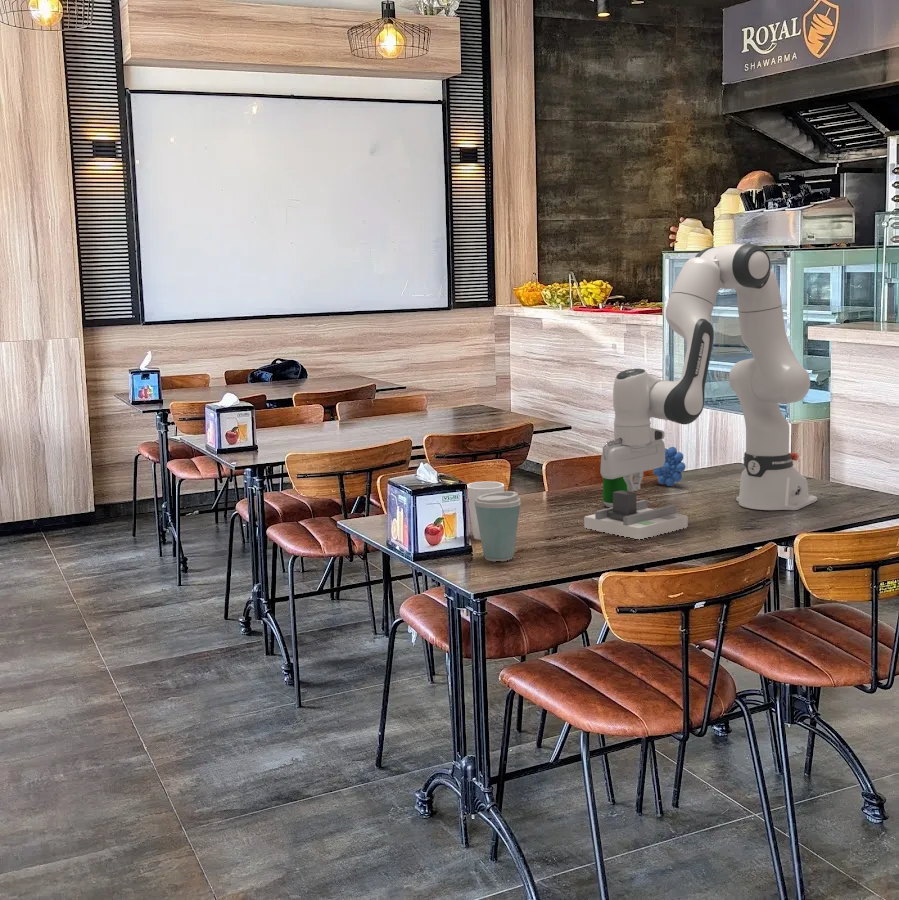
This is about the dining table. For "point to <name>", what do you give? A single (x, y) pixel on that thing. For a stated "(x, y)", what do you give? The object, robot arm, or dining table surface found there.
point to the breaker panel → (638, 521)
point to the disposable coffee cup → (498, 524)
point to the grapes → (670, 467)
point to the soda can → (612, 489)
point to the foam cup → (476, 491)
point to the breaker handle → (623, 504)
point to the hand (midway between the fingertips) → (633, 490)
